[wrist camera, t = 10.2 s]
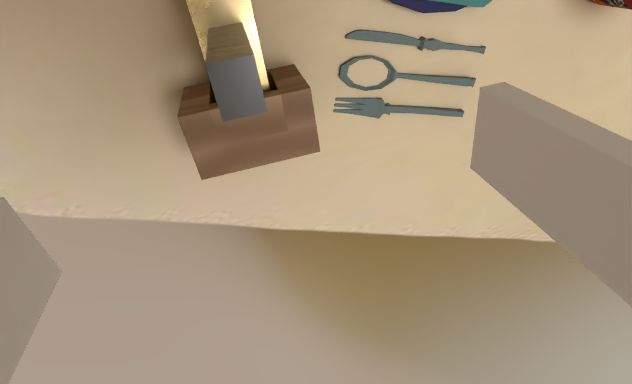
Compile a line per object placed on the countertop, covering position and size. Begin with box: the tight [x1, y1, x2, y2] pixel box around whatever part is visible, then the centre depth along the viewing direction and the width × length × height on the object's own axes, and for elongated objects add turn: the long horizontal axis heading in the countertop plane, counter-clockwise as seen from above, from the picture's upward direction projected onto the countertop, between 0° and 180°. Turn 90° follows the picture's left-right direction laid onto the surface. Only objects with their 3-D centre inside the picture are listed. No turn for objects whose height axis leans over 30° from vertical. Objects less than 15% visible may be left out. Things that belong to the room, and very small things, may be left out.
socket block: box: [177, 65, 320, 180], centre depth 31 cm, size 6×10×7 cm, turn 98°
